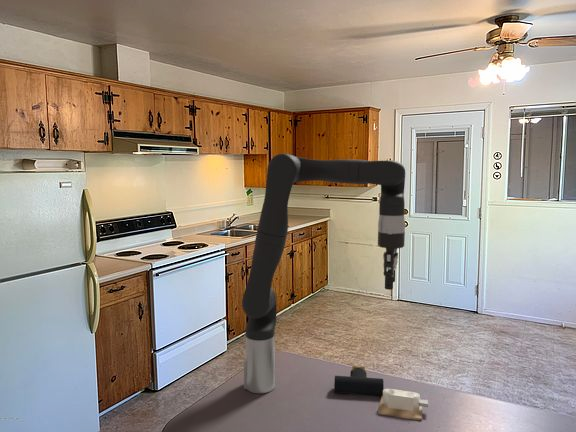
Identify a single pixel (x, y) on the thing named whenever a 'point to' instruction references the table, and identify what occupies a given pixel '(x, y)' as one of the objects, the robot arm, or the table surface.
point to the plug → (403, 400)
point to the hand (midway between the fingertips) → (390, 285)
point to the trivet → (400, 412)
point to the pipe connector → (358, 383)
